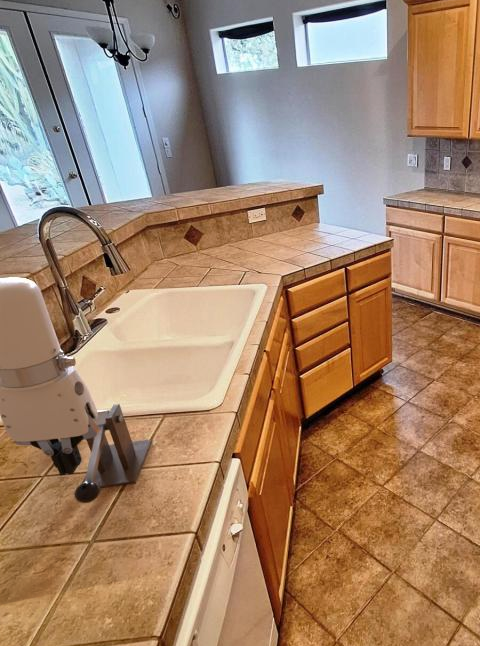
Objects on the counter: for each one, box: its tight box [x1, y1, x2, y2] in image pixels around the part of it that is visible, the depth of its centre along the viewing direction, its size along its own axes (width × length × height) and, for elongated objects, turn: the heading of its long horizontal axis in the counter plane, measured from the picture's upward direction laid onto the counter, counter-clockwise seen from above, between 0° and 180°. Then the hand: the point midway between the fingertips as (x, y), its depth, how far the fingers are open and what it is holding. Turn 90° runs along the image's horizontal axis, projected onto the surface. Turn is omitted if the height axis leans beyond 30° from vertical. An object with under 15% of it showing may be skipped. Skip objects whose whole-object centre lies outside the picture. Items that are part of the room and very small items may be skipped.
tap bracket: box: [81, 403, 154, 490], centre depth 79 cm, size 12×9×13 cm
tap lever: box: [73, 409, 110, 504], centre depth 73 cm, size 16×3×3 cm, turn 13°
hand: (70, 468), depth 68 cm, fingers closed
